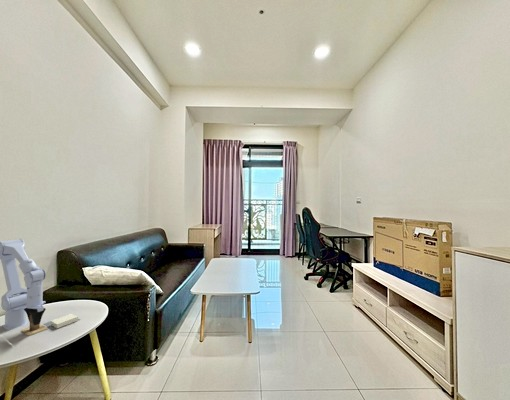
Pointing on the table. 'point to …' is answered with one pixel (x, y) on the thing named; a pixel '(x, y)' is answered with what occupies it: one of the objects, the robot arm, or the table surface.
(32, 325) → the dowel
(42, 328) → the board
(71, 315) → the tile
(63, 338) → the table surface
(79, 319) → the mat
